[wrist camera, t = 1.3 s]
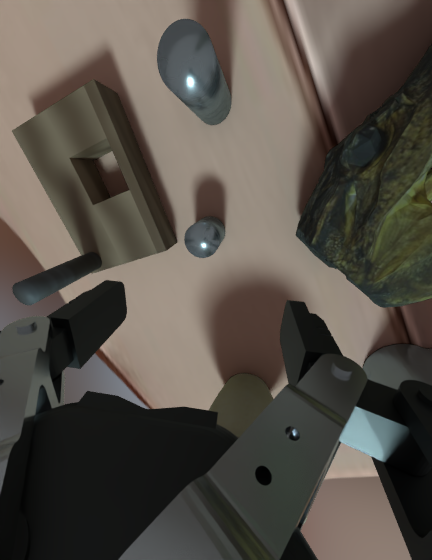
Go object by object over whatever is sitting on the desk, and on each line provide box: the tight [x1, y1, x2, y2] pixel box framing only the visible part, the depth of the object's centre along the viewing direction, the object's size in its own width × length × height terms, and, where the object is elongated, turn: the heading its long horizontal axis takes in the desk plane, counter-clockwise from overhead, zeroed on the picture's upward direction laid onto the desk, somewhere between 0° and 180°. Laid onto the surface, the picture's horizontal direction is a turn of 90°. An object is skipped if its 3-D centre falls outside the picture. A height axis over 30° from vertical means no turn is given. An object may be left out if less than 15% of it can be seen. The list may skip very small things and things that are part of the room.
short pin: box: [184, 216, 225, 258], centre depth 28 cm, size 4×4×5 cm
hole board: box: [12, 79, 177, 305], centre depth 24 cm, size 12×18×14 cm, turn 19°
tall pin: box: [157, 19, 231, 125], centre depth 20 cm, size 4×4×10 cm
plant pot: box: [209, 373, 308, 523], centre depth 33 cm, size 15×15×16 cm
